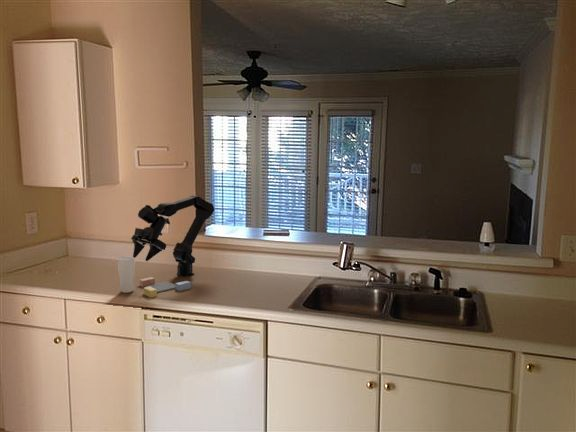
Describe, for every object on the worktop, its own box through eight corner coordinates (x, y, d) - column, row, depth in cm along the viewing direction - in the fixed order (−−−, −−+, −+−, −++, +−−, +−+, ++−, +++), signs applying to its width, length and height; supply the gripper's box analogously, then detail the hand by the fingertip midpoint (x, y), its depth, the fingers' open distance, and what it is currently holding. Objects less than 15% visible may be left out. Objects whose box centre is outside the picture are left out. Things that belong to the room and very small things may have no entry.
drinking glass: (130, 294, 205) (129, 260, 203) (116, 293, 207) (114, 259, 204) (138, 289, 212) (137, 256, 209) (124, 288, 213) (123, 255, 211)
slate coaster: (166, 282, 223) (166, 281, 223) (179, 287, 215) (179, 286, 215) (144, 287, 215) (144, 285, 215) (157, 292, 208) (157, 291, 208)
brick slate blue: (187, 287, 217) (187, 280, 216) (191, 288, 215) (190, 282, 214) (175, 289, 213) (175, 283, 212) (179, 291, 211) (178, 284, 210)
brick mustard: (143, 294, 206) (143, 287, 206) (150, 293, 208) (149, 286, 208) (150, 297, 202) (150, 291, 201) (157, 296, 204) (156, 289, 203)
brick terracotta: (151, 283, 222) (151, 277, 222) (154, 284, 220) (154, 278, 219) (139, 285, 218) (139, 279, 217) (142, 287, 216) (142, 280, 215)
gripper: (130, 217, 219) (114, 248, 214) (156, 222, 208) (139, 254, 203) (148, 228, 227) (132, 258, 222) (173, 233, 216) (157, 265, 211)
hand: (140, 259), depth 214 cm, fingers open, 9 cm apart
